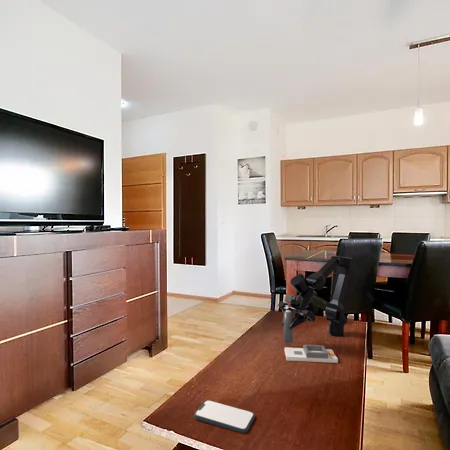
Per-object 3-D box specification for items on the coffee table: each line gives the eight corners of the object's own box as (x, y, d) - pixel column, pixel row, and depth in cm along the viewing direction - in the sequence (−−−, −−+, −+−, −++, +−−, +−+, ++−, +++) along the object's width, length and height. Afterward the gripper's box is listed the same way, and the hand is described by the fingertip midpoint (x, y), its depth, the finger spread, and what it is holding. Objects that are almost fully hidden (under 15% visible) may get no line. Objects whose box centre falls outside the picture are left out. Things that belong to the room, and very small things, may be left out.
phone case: (255, 418, 92) (206, 403, 99) (256, 412, 92) (206, 398, 98) (245, 437, 84) (192, 420, 90) (245, 431, 84) (192, 414, 90)
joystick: (288, 338, 145) (288, 309, 145) (295, 341, 141) (295, 311, 141) (281, 340, 143) (281, 310, 142) (288, 343, 139) (288, 312, 139)
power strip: (331, 352, 137) (331, 344, 137) (337, 362, 127) (337, 354, 127) (284, 350, 139) (284, 342, 138) (286, 360, 129) (287, 351, 129)
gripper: (280, 284, 152) (262, 311, 146) (311, 291, 136) (292, 322, 130) (292, 298, 156) (275, 325, 150) (323, 307, 140) (305, 337, 135)
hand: (286, 327), depth 141 cm, fingers closed on joystick, 4 cm apart
